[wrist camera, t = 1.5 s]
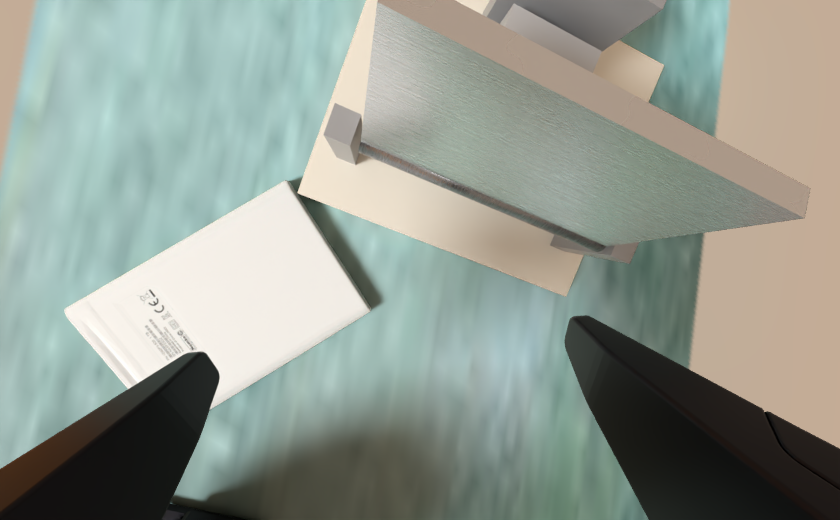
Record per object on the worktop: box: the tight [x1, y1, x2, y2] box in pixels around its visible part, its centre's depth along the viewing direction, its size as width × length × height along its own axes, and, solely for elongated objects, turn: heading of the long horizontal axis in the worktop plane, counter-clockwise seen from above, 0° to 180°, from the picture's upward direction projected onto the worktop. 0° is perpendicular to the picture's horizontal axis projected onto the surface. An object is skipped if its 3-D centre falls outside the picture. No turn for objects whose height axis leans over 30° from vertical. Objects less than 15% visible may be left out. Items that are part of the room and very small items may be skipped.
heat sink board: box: [297, 0, 666, 297], centre depth 16 cm, size 14×16×8 cm
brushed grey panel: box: [358, 0, 810, 252], centre depth 11 cm, size 1×11×8 cm, turn 69°
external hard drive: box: [64, 180, 371, 409], centre depth 19 cm, size 2×8×12 cm
